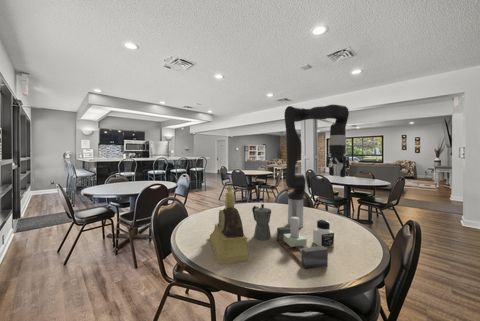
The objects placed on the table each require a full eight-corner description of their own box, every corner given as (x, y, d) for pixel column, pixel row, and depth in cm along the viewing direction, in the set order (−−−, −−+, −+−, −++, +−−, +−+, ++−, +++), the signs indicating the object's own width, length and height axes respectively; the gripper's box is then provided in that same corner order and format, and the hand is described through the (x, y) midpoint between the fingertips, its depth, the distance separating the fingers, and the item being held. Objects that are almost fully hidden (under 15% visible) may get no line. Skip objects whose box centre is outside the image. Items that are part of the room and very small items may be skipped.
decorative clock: (209, 238, 115) (209, 182, 114) (232, 236, 118) (233, 182, 117) (218, 264, 88) (219, 191, 87) (248, 260, 91) (249, 190, 90)
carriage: (283, 240, 106) (283, 216, 106) (298, 238, 108) (298, 215, 108) (290, 246, 98) (291, 221, 98) (306, 245, 100) (306, 219, 100)
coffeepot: (277, 239, 114) (277, 205, 113) (263, 243, 109) (263, 208, 108) (259, 230, 127) (259, 200, 126) (246, 233, 122) (246, 202, 121)
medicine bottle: (321, 248, 103) (321, 223, 103) (312, 242, 110) (313, 219, 110) (334, 246, 105) (334, 222, 105) (324, 240, 112) (325, 218, 111)
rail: (277, 241, 111) (277, 227, 111) (294, 239, 114) (294, 226, 113) (305, 269, 84) (305, 251, 84) (327, 266, 86) (327, 249, 86)
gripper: (322, 144, 115) (321, 175, 115) (340, 143, 101) (340, 177, 101) (334, 145, 117) (334, 174, 117) (354, 143, 103) (353, 177, 103)
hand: (336, 176), depth 109 cm, fingers open, 8 cm apart
